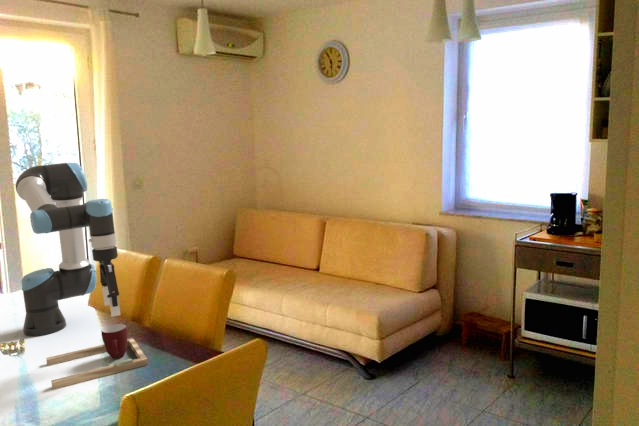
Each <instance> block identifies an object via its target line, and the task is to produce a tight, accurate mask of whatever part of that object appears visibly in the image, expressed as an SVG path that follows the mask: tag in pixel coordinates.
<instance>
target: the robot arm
mask: <svg viewBox="0 0 639 426" xmlns="http://www.w3.org/2000/svg"><path fill="white" fill-rule="evenodd" d="M87 183H88V182H87V178H86V175H85V173H84V170H83V168H82V166H81V165H80V164H79V163H77V162H63V163H54V164H43V165H36V166H31V167H29V168H27V169H26V170H24V171H23V172H22V173H21V174H20V175H19V176H18V177H17V179H16V182H15V191H16V193H17V195H18V196H19V198H21V200H23V201H24V202H26V204H27V206H28V208H29V209H30V211H31V213H30V214H29V215H30V217H29V218H30V219H29V220H30V225H31V229H32V231H33V233H34V234H36V235H38V234H39V235H41V234H49V233H57V232H58V234H59V235H58V236H59V242H60V243H59V244H60V250H61V251H60V253H61V260H62V261H61V262H60V263H59V264H58V270H55V269H54V268H51V267H48V268H41V269H38V270H34V271H31V272H29V273H27V274H25V275H24V276H23V277H22V278H21V291H22V294H23V300H24V301H23V302H24V308H25V318H24V323H23V328H22V329H23V334H24V335H25V336H29V337H36V336H45V335H50V334H52V333H57V332H58V331H60V330H63V329H64V328H65V327H66V326H67V322H66V318H65V316H64V315H63V313H62V310H61V309H60V305H59V301H60V300H66V299H70V298H76V297H79V296H85V295H89V294H92V293H93V292H94V291H95V289H96V286H97V273H96V267H95V265H94V264H92V263H91V261H90V260H88V259H87V257H86V250H85V242H84V240H85V239H84V231H83V228H88V229H89V237H90V238H89V239H88V242H89V243H90V244H91V248H92V249H91V253H92V260H93V261H95V262H98V263H99V264H98V265H99V278H100V279H99V280H100V281H99V282H100V284H101V286H102V287H101V288H102V289H101V290H102V298H103V303H104V307H106V306H109V309H110V315H111V318H113V317H117V316H121V308H120V299H119V296H120V292H119V287H118V283H117V282H118V281H117V277H116V276H117V275H116V270H115V264H113V262H112V261H113V260H115V259H117V258H118V255H119V254H118V247H117V246H116V245H117V237H116V230H115V223H114V216H113V213H114V212H113V211H114V210H113V209H114V208H113V207H112V202H111V200H110V199H109V198H108V199H107V198H96V199H91V200H88V201H87V202H84V203H82V204H81V200H82V199H83V198H84V193H85V192H87V190H88V184H87Z"/></svg>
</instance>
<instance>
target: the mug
mask: <svg viewBox="0 0 639 426" xmlns="http://www.w3.org/2000/svg"><path fill="white" fill-rule="evenodd" d="M128 334H129V333H128V325H126V324H121V323H117V324H116V323H115V324H111V325H108V326H105V327H103V328H102V329H101V338H102V342H103V345H105V348H106V353H107V355H109V356H110V358H111V359H112V360H117V359H121V358H123V357H124V356H125V355H126V351H127V348H128V346H127V339H129V338H128Z"/></svg>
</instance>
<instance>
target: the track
mask: <svg viewBox="0 0 639 426" xmlns="http://www.w3.org/2000/svg"><path fill="white" fill-rule="evenodd" d="M127 347H130V349H131V350H132V352H133V353H134V355H135V357H137V358H134V359H132V358H128V359H123V360H121V361H120V360H119V361H117V362H115V363H114V364H110V365H107V366H103V367H99V368H95V369H91V370H87V371H83V372H81V373H76V374H72V375H67V376H63V377H60V378H55V379H52V380H51V388H52V390H55V389H58V388H59V389H60V388H63V387H67V386H70V385H75V384H78V383H82V382H86V381H89V380H94V379H97V378H101V377H105V376H109V375H113V374H117V373H120V372H124V371H129V370H131V369H133V370H134V369H136V368H140V367H143V366H147V365H148V364H149V363H148V358H147V356H146V355H145V354H144V351H143V350H142V349H141V348H140V346H139V344H138V343H137V342H136V340H135V339H134V337H130V338H127ZM105 352H106V353H107V351H106V348H105V345H104V344H100V345H97V346H92V347H86V348H83V349H79V350H78V349H77V350H75V351H70V352H66V353H62V354H58V355H54V356H49V357H46V358H45V360H46V365H47V366H51V365H52V366H53V365H56V364H61V363H64V362H68V361H73V360H77V359H81V358H85V357H88V356H89V357H90V356H93V355H98V354H101V353H102V354H103V353H105Z"/></svg>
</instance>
